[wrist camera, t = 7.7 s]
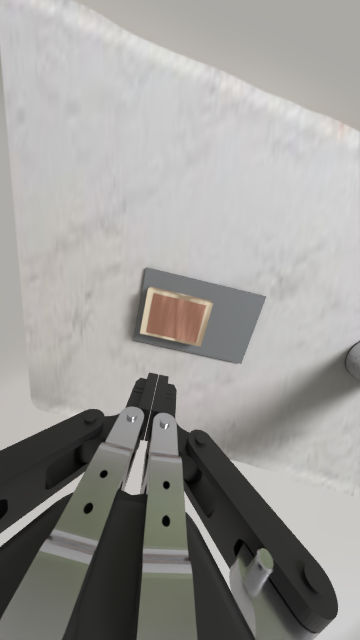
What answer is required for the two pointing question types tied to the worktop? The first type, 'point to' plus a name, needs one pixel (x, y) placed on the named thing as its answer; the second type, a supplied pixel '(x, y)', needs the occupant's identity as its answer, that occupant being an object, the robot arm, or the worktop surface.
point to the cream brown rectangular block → (175, 316)
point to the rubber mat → (224, 321)
